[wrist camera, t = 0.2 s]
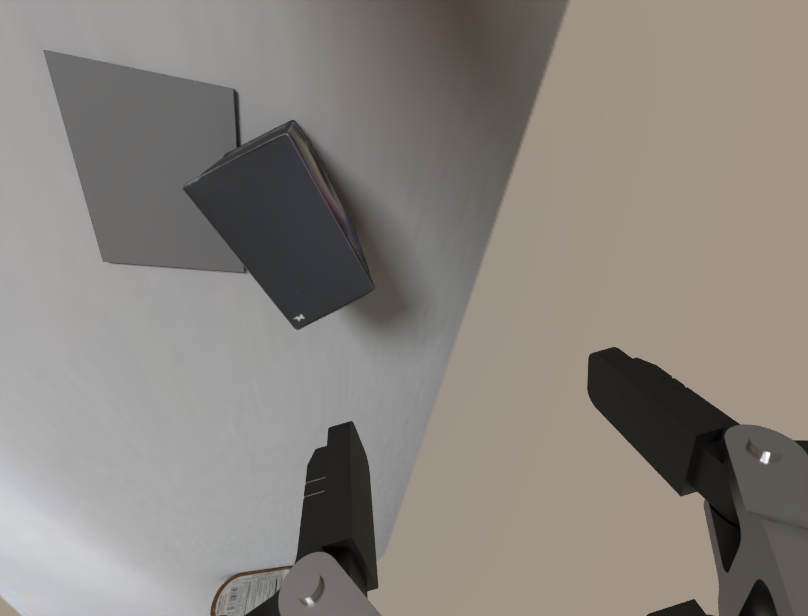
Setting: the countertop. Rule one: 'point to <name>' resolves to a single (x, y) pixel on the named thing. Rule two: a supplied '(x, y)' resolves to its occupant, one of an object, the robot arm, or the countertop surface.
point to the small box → (285, 224)
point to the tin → (247, 591)
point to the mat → (145, 158)
